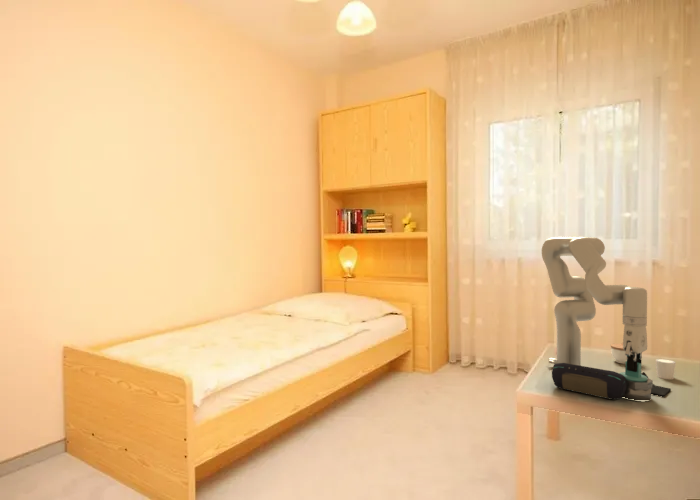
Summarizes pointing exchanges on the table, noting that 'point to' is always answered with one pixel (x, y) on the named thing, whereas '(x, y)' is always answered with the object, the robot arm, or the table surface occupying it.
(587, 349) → the table surface
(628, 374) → the teal disc with handle
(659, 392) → the handheld gaming console
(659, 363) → the beige cup
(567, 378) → the portable speaker
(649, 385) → the octagonal studded bezel
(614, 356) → the lidded jar
